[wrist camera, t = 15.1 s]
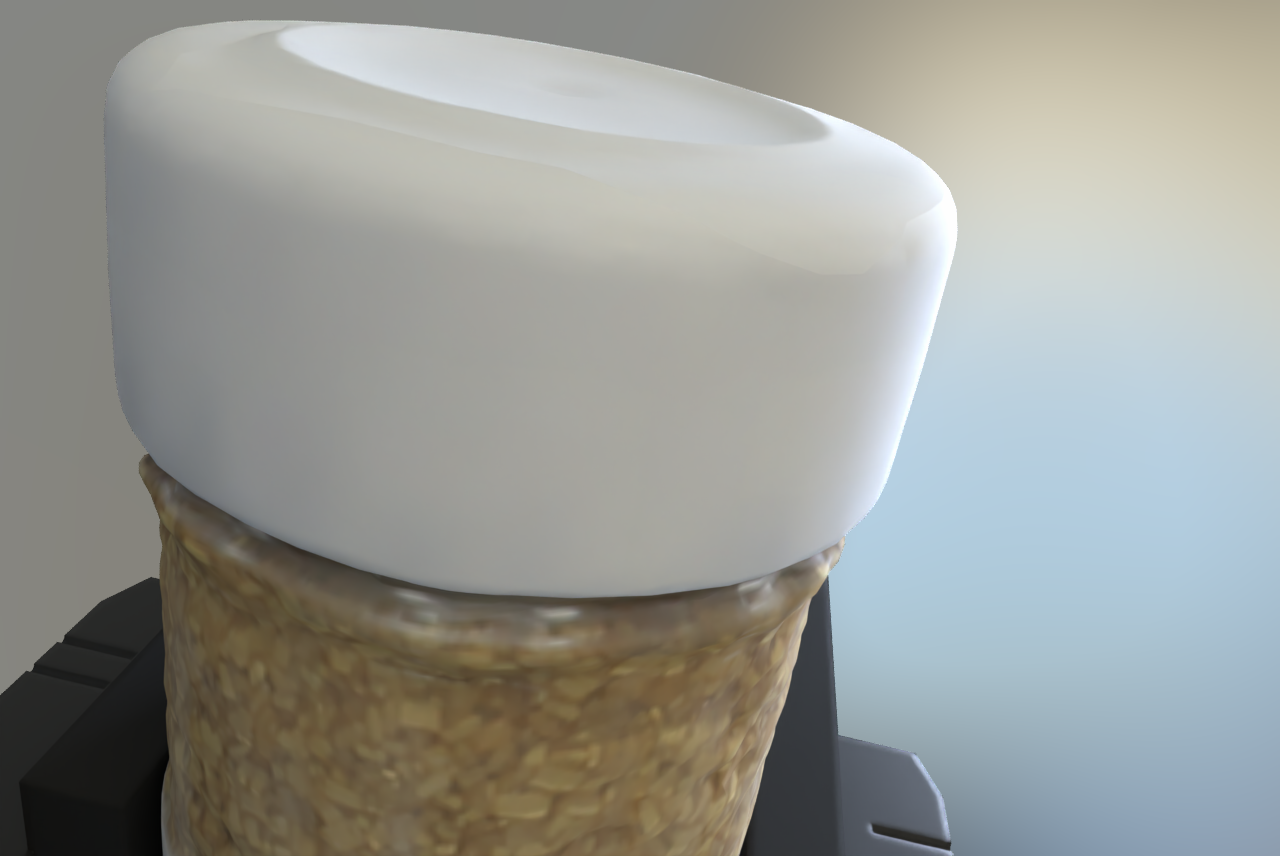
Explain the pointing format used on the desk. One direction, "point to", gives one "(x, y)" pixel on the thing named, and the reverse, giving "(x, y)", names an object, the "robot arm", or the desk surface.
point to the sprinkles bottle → (494, 427)
